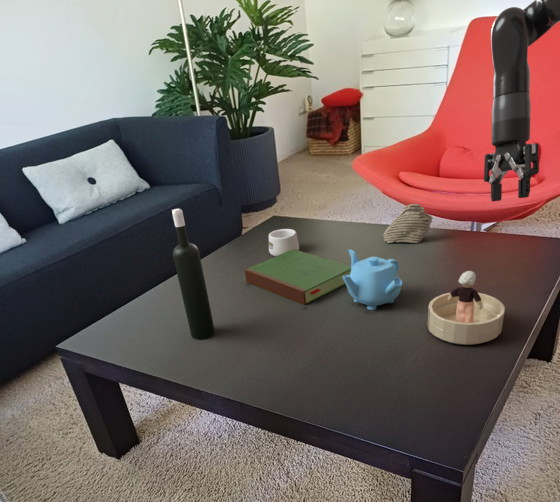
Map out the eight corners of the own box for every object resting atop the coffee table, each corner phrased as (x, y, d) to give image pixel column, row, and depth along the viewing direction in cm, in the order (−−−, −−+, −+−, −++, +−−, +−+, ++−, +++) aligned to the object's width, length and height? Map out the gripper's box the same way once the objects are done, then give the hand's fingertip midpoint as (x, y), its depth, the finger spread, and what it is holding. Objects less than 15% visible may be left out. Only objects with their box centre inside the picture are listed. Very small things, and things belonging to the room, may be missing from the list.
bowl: (512, 323, 116) (516, 300, 112) (483, 354, 106) (486, 331, 103) (446, 307, 125) (448, 286, 122) (414, 335, 115) (415, 313, 112)
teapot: (337, 311, 129) (335, 268, 122) (349, 287, 139) (348, 247, 133) (399, 315, 124) (401, 271, 117) (407, 290, 134) (409, 248, 128)
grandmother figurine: (483, 324, 115) (489, 270, 108) (478, 332, 112) (485, 277, 105) (447, 318, 119) (452, 266, 112) (442, 326, 116) (447, 273, 109)
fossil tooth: (384, 241, 168) (433, 236, 164) (383, 247, 163) (433, 242, 159) (381, 205, 162) (431, 198, 158) (380, 210, 157) (432, 204, 153)
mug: (304, 252, 164) (303, 233, 161) (277, 260, 161) (274, 241, 158) (287, 242, 173) (286, 224, 170) (261, 249, 170) (259, 231, 167)
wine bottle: (217, 327, 128) (194, 204, 111) (210, 339, 123) (184, 213, 107) (195, 327, 129) (169, 206, 113) (187, 339, 125) (158, 214, 108)
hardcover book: (246, 282, 149) (244, 269, 147) (294, 260, 159) (293, 249, 157) (306, 306, 133) (305, 292, 131) (356, 280, 142) (355, 267, 140)
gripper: (551, 110, 105) (548, 195, 110) (502, 125, 118) (501, 200, 123) (520, 112, 103) (518, 198, 108) (474, 127, 117) (474, 203, 121)
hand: (509, 199), depth 115 cm, fingers open, 8 cm apart
